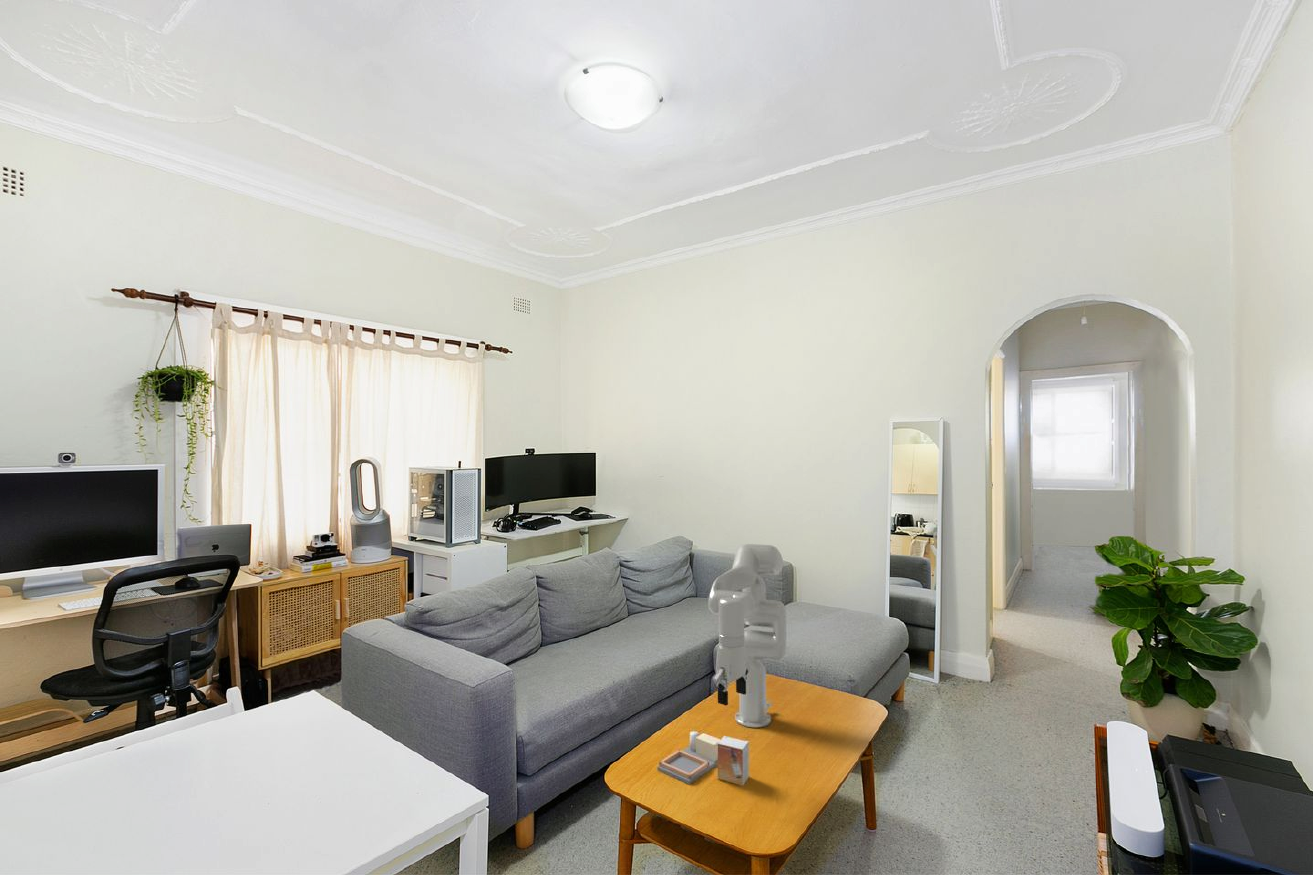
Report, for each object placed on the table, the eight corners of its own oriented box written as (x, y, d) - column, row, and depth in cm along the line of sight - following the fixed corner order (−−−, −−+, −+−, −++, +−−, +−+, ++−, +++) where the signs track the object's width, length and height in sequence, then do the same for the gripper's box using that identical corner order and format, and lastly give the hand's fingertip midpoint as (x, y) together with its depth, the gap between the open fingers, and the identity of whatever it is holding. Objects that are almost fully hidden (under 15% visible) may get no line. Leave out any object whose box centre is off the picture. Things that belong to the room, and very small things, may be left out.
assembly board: (693, 746, 192) (692, 728, 192) (723, 759, 184) (723, 739, 184) (657, 769, 178) (657, 749, 178) (689, 784, 171) (688, 763, 171)
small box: (717, 779, 173) (716, 743, 173) (724, 770, 178) (723, 734, 178) (743, 786, 169) (742, 749, 170) (749, 776, 174) (749, 740, 175)
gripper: (736, 630, 184) (737, 686, 183) (704, 644, 170) (704, 704, 170) (757, 635, 179) (758, 692, 178) (725, 650, 166) (726, 712, 165)
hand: (732, 698), depth 174 cm, fingers open, 9 cm apart
